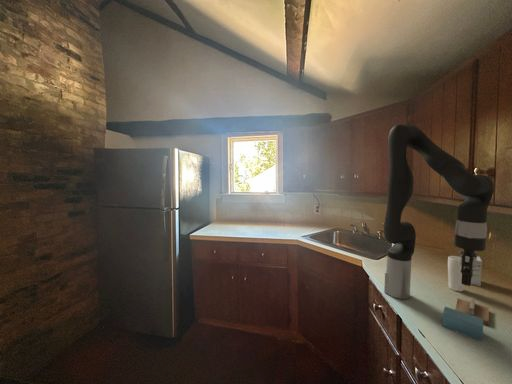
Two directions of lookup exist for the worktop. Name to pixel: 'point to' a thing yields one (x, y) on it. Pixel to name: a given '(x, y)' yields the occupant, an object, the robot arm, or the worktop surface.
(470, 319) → the block
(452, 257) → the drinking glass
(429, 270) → the worktop surface
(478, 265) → the supplement box
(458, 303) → the rail stand
